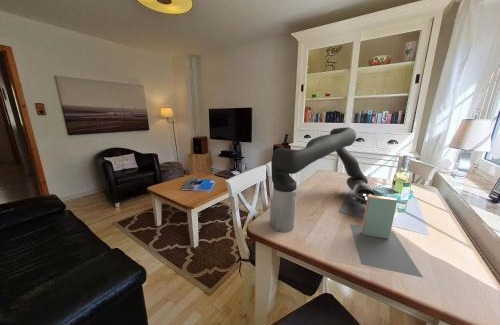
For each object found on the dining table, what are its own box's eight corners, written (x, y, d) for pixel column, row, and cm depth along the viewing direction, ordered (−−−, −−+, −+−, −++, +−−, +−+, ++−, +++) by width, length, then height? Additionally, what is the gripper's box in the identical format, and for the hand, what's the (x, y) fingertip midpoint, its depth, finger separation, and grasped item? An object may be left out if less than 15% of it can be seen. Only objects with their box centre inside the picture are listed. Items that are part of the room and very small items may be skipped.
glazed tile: (361, 231, 79) (367, 194, 75) (387, 236, 76) (395, 198, 72) (362, 234, 77) (369, 197, 73) (389, 239, 74) (397, 200, 70)
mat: (349, 225, 84) (349, 224, 84) (393, 232, 79) (393, 231, 79) (361, 265, 62) (361, 264, 62) (422, 279, 57) (423, 277, 57)
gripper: (349, 183, 99) (355, 196, 83) (379, 186, 95) (392, 201, 80) (347, 197, 101) (353, 212, 85) (376, 201, 97) (388, 218, 81)
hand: (372, 207), depth 82 cm, fingers closed
